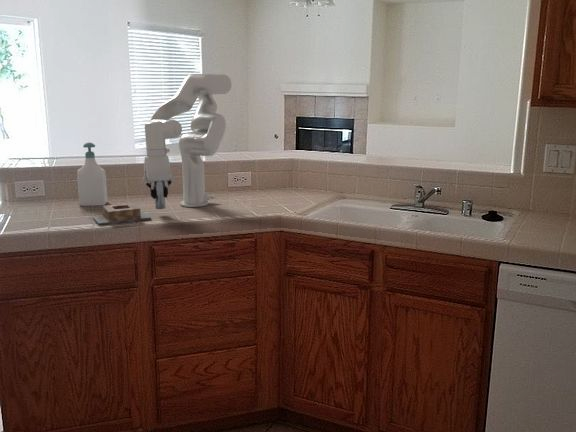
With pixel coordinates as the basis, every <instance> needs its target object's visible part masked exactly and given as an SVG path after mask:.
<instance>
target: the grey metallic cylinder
mask: <svg viewBox="0 0 576 432" xmlns="http://www.w3.org/2000/svg"><path fill="white" fill-rule="evenodd" d="M154 189H155V191H156V199H154V205H155V206H154V207H155V209H156V210H163V209H166V197H165V194H164V181H156V182H155V183H154Z"/></svg>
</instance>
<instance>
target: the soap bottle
mask: <svg viewBox="0 0 576 432" xmlns="http://www.w3.org/2000/svg"><path fill="white" fill-rule="evenodd" d="M95 147H96V144H94V143H93V142H89V141H88V142H86V143H84V144H83V148H87V151H86V152H85V154H84V155H85V159H84V161H85V162H84V164H83V165H82V166H81V167H80V168H78V169H77V170H76V182H77V191H78V193H77V194H78V205H79V206H81V207H82V206H83V207H84V206H87V207H88V206H106V205H107V203H108V201H109V200H108V189H107V187H108V186H107V175H106V173H107V172H106V170H105V169H104V168H102V167H101V166H100V165H99V164H98V163H97V161H96V158H95V157H96V156H95V152H94V151H92V148H95Z"/></svg>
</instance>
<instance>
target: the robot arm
mask: <svg viewBox="0 0 576 432" xmlns="http://www.w3.org/2000/svg"><path fill="white" fill-rule="evenodd" d="M231 90H232V80H231V78H230V77H229V76H228V75H227V74H216V73H215V74H213V73H191V74H188V75H187V76H185V78H184V80H183V81H182V83H181V85H180V87H179V88H178V89H177V91H176V93H175V94H174V96H173V97H172V98H170V99H168V100H167V101H166V102H165V103H163V104H162V105H160V106H159V107H158V108H156V109H155V111H154V113H152V115H151V117H150V119H149V120H148V121H147V122H146V123H144V134H145V147H146V156H144V159H143V176H142V179H141V181H140V183H141V184H143V185H145V186H147V187H148V188H149V190H150V196H151V197H150V198H152V199H154V200H155V199H156V191H155V189H154V183H155V182H156V181H164V194H165V198H168V195H169V189H168V188H169V187H170V185H171V184H172V183H173V182H174V181H175V180H176V177H175V176H174V174H173V173H172V170H171V164H170V158H169V156H168V155H167V154H168V153H170V149H169V148H167V145H166V139H176V138H178V137H179V136H180V138H179V139H178V140H179V141H178V150H179V152H180V157H181V167H182V168H181V170H182V173H181V174H182V194H183V195H182V197H183V200H181V201H179V205H180V206H181V207H186V208H198V207H204V206H206V207H207V206H208V205H209V204H210V203H209V202H210V201H209V200H215V199H216V194H207V193H206V186H205V163H204V161H203V159H202V157H213V156H214V155H216V153H217V152H218V149H219V148H220V145H221V144H222V143H221V142H222V140H223V137H224V135H225V134H226V133H225V132H226V129H227V121H226V118H225V116H224V115H222V114H220V113H217V110H218V105H217V101H216V100H215V98H214V96H213V95H226V94H228V93H229V92H230V91H231ZM197 99H198V105H197V107H196V110H195V111H194V114H193V117H192V119H191V122H190V130H191V131H192V132H189V133H184V134H183V135H181V134H182V132H183V127H182V124H181V123H180V122H179V121H177V120H175V119H172V118H174V117H176V116H179V115H183V114H185V113H187V112H189V111H190V110H192V108H193V106H195V105H194V104H195V103H196V101H197Z"/></svg>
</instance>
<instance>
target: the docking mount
mask: <svg viewBox="0 0 576 432" xmlns="http://www.w3.org/2000/svg"><path fill="white" fill-rule="evenodd" d="M101 206H102V207H101V208H102V215H95V216H94V215H93V216H92V220H93V221H94V223H96V225H97V226H98V227H100V226H101V225H102V226H109V225H110V224H111V225H120V224H126V222H129V223H136V222H135V221H138V222H144V221H146V220H147V221H152V217H151V216H150V215H148V214H147V213H146V212H144V211H141V208H140V207H139V206H137V205H136V204H135V203H133V202H128V203H127V202H126V203H118V204H116V203H115V204H108V205H107V204H105V205H101ZM119 223H120V224H119Z"/></svg>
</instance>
